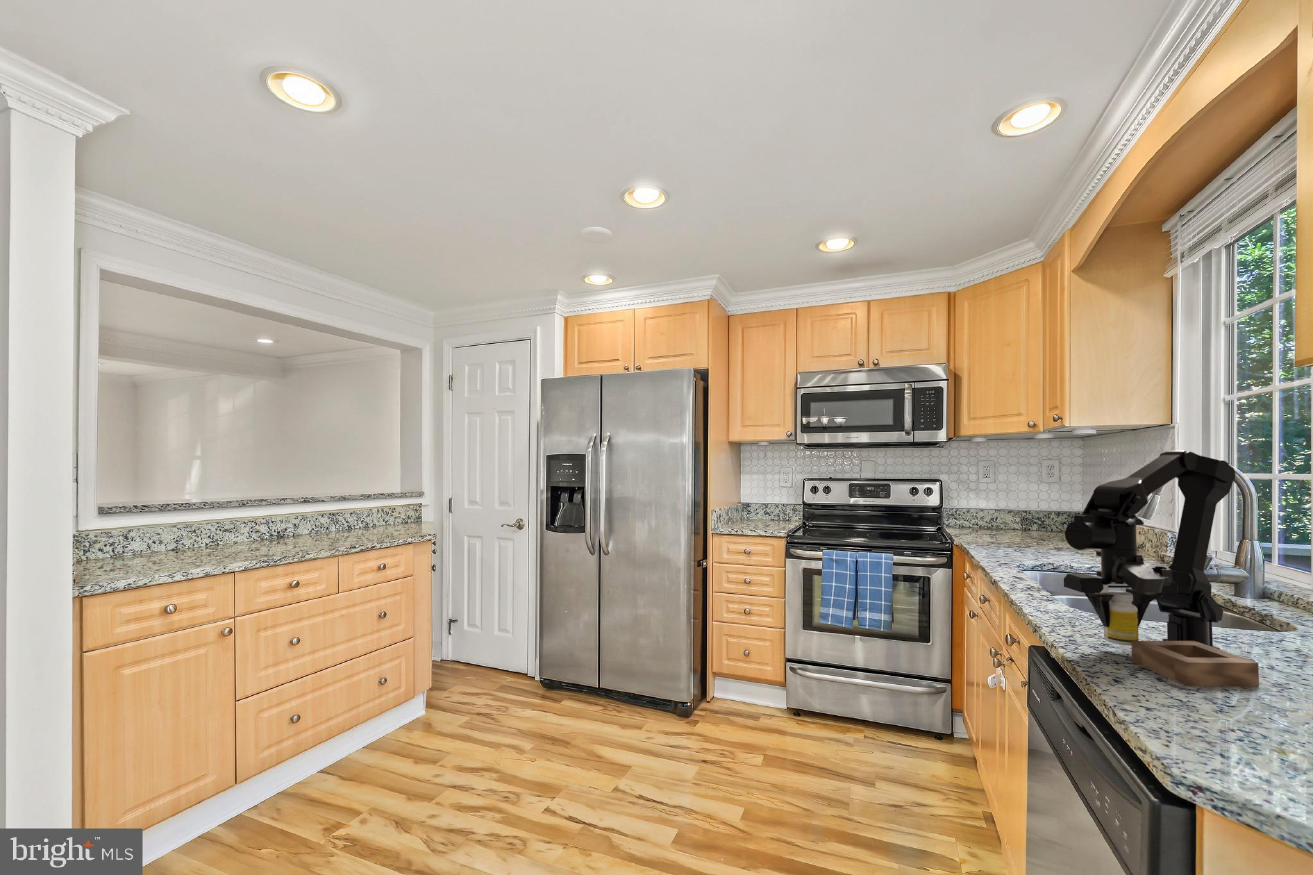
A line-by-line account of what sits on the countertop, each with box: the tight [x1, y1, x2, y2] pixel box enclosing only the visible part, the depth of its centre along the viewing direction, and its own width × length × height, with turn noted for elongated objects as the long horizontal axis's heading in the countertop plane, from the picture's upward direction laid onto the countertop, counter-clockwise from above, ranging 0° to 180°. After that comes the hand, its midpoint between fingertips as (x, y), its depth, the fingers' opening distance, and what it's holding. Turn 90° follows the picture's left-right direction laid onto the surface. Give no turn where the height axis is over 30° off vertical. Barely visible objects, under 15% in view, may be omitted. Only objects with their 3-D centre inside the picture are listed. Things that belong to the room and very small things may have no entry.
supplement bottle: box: [1103, 590, 1140, 647], centre depth 117 cm, size 5×5×10 cm
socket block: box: [1131, 640, 1260, 688], centre depth 106 cm, size 12×12×4 cm
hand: (1120, 626), depth 117 cm, fingers closed on supplement bottle, 5 cm apart
